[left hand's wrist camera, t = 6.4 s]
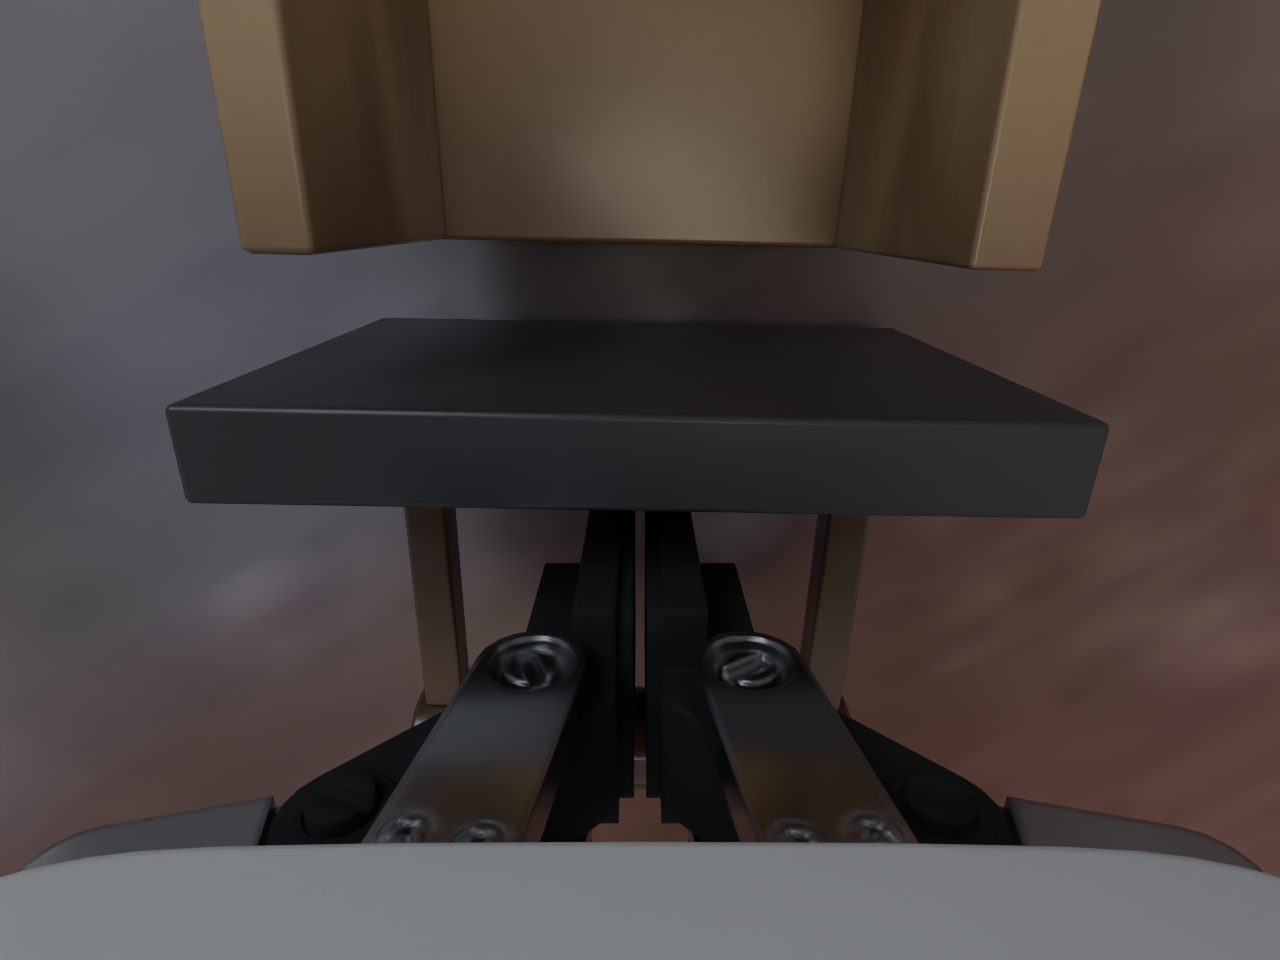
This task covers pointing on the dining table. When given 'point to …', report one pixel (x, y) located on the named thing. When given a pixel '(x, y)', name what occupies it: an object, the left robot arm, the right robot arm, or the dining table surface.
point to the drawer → (652, 214)
